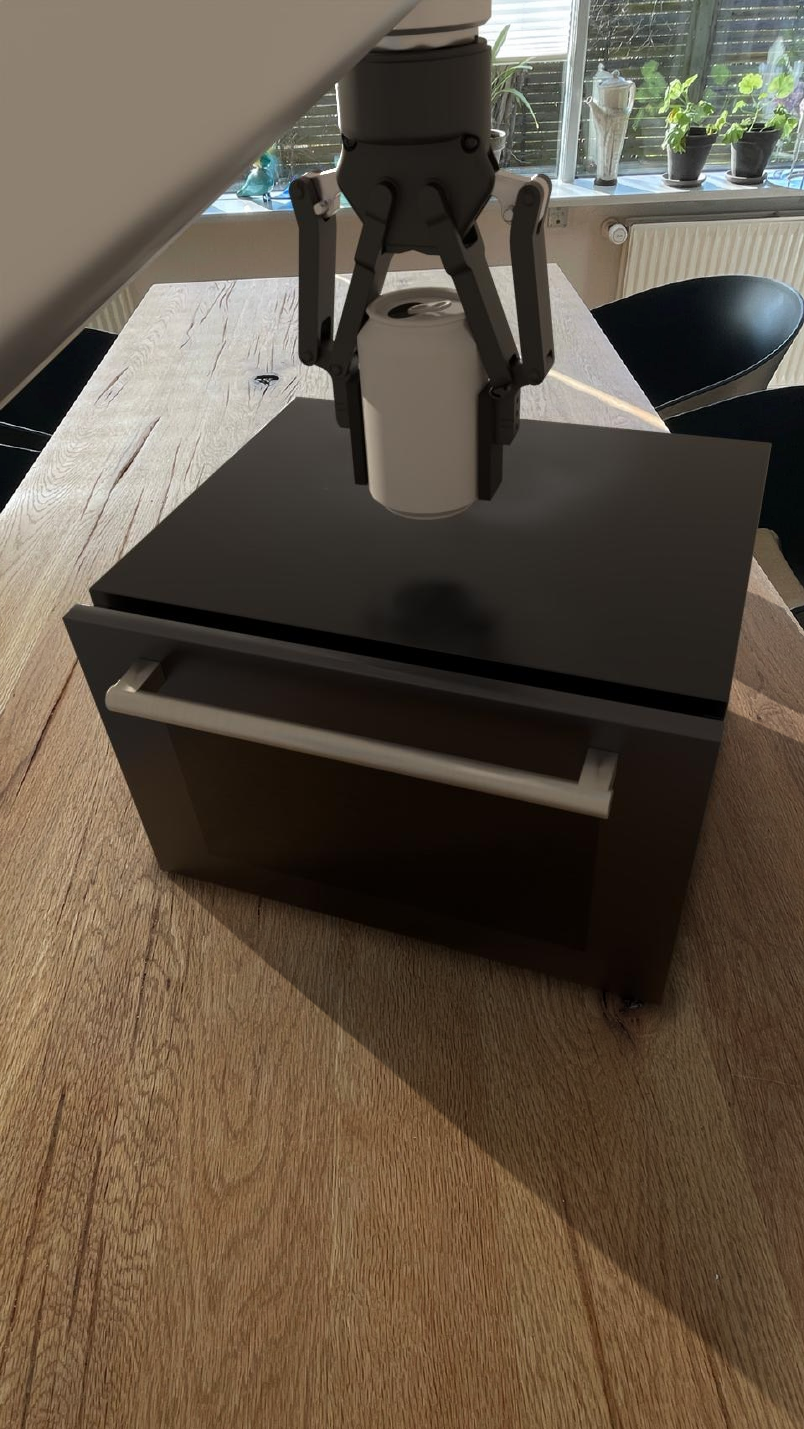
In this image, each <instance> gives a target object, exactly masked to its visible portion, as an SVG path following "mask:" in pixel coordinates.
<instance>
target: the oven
mask: <svg viewBox="0 0 804 1429" xmlns="http://www.w3.org/2000/svg"><path fill="white" fill-rule="evenodd" d="M771 449H772V442H765V441H755V440H754V441H753V440H744V439H736V438H735V439H734V438H726V437H725V438H723V437H714V436H704V435H696V434H695V435H693V434H685V433H684V434H683V433H673V432H663V431H654V430H643V429H633V428H623V427H612V426H601V425H600V426H599V425H591V424H582V423H581V424H580V423H571V422H562V421H549V420H540V419H531V418H530V419H529V418H521V417H520V428H519V430H518V432H517V434H516V436H515V438H514V439H513V441H512V443H511V444H510V445H503V468H502V482H501V484H500V486H499V487H498V489H497V491H496V492H495V494H494V496H493V497H492V499H491V501H484V500H478V499H477V500H476V501H474V502H473V503H472V505H471V506H470V507H469V508H467V509H466V510H464V511H463V512H461V513H459V514H456V515H453V516H451V517H446V518H440V519H433V520H418V519H411V518H405V517H402V516H399V515H397V514H394V513H392V512H391V511H390V510H388V509H387V508H386V507H385V506H384V505H382V504H381V503H379V502H378V501H377V500H375V499H374V498H373V496H372V494H371V493H370V491H369V482H368V484H367V485H366V486H365V485H357V484H355V480H354V469H353V458H352V447H351V436H350V429H349V428H340V427H339V425H338V423H337V420H336V414H335V403H334V399H327V398H316V397H307V396H306V397H304V396H295V397H293V399H291V400H290V402H288V403H287V404H286V405H285V406H284V407H283V408H282V409H280V411H279V412H278V413H276V414H275V415H274V416H273V417H272V418H271V419H270V420H269V421H268V422H267V423H266V424H264V425H263V427H261V428H260V429H259V430H258V431H257V432H256V433H255V434H254V435H253V436H252V437H251V438H250V439H248V440H247V441H246V442H245V443H244V444H243V445H242V446H240V448H238V450H236V451H235V452H234V453H233V454H232V455H231V456H230V457H229V458H228V459H227V460H226V461H225V462H223V463H222V464H221V466H219V467H218V468H217V469H216V470H215V471H214V472H212V474H211V475H209V476H208V477H207V478H206V479H205V480H204V481H203V482H202V483H201V484H200V485H199V486H197V488H195V489H194V490H193V491H192V492H191V493H190V494H189V495H188V496H187V497H186V498H185V499H183V501H181V502H180V503H179V504H178V506H176V507H175V508H174V509H173V510H172V511H171V512H169V513H168V514H167V515H166V516H165V518H163V519H162V520H161V521H160V522H158V524H156V526H154V527H153V528H152V529H151V530H150V531H149V532H148V533H147V534H146V535H145V536H144V537H143V538H142V539H141V540H140V541H138V542H137V543H136V544H135V545H134V546H133V547H132V548H131V549H129V551H128V552H126V553H125V554H124V555H123V556H122V557H121V558H120V559H119V560H118V561H116V563H114V564H113V565H112V566H111V567H110V568H109V569H108V570H107V571H106V572H105V573H104V574H103V575H101V577H100V578H98V580H96V581H95V582H94V583H93V584H92V585H91V586H90V587H89V588H88V593H89V597H90V599H91V602H92V604H93V605H92V606H94V607H99V608H105V609H110V610H116V611H121V612H127V613H132V614H138V615H143V616H149V617H154V618H160V619H165V620H171V621H176V622H182V623H187V624H193V625H198V626H204V627H209V628H215V629H220V630H226V631H231V632H237V633H242V634H248V635H253V636H259V637H264V638H270V639H275V640H281V641H286V642H292V643H297V644H303V645H308V646H314V647H319V648H324V649H330V650H335V651H341V652H346V653H352V654H357V655H363V656H368V657H374V658H379V659H385V660H390V661H396V662H401V663H407V664H412V665H418V666H423V667H429V668H434V669H440V670H445V671H451V672H456V673H462V674H467V675H473V676H478V677H484V678H489V679H495V680H500V681H506V682H511V683H517V684H522V685H528V686H533V687H539V688H544V689H550V690H555V691H561V692H566V693H572V694H577V695H583V696H588V697H594V698H599V699H605V700H610V701H615V702H621V703H626V704H632V705H637V706H643V707H648V708H654V709H659V710H665V711H670V712H676V713H681V714H687V715H692V716H698V717H703V718H709V719H714V720H720V721H724V722H725V721H726V716H727V712H728V708H729V704H730V697H731V692H732V686H733V679H734V673H735V667H736V662H737V655H738V649H739V643H740V638H741V631H742V626H743V619H744V612H745V607H746V601H747V596H748V589H749V583H750V577H751V570H752V566H753V558H754V553H755V546H756V540H757V536H758V534H757V533H758V530H759V529H758V528H759V523H760V516H761V510H762V503H763V497H764V492H765V486H766V481H767V474H768V467H769V461H770V457H771V456H770V455H771ZM725 723H726V722H725Z"/></svg>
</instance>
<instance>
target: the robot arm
mask: <svg viewBox="0 0 804 1429" xmlns="http://www.w3.org/2000/svg"><path fill="white" fill-rule="evenodd" d="M492 5H493V2H492V0H0V411H1V410H3V408H4V407H5V406H7V404H9V403H10V402H11V400H13V399H14V398H15V397H16V396H17V395H18V394H19V393H20V392H21V391H22V390H23V389H24V388H26V386H27V385H28V384H29V383H30V382H31V381H32V380H33V379H34V378H35V377H36V376H37V375H38V374H39V373H40V372H42V371H43V370H44V369H45V368H46V367H47V365H49V364H50V363H51V362H52V361H53V360H54V359H55V358H56V357H57V356H58V355H59V354H60V353H61V352H62V351H63V350H64V349H65V348H66V347H67V346H69V344H70V343H71V342H72V341H73V340H74V339H76V338H77V336H79V334H80V333H81V332H83V331H84V329H86V327H88V326H89V325H90V324H91V323H92V322H93V321H95V319H96V318H97V317H98V316H99V315H100V314H101V313H102V312H103V311H104V310H106V308H107V307H108V306H109V305H110V304H112V303H113V302H114V300H116V298H118V297H119V296H120V295H121V294H122V293H123V291H125V290H126V289H127V288H128V287H129V286H130V285H131V284H132V283H133V282H134V281H135V280H136V279H137V278H138V277H139V276H141V275H142V273H143V272H144V271H145V270H147V268H148V267H149V266H150V265H152V264H153V262H155V261H156V260H157V258H159V257H160V256H161V255H162V254H163V253H164V252H165V251H166V250H167V249H169V247H170V246H171V245H172V244H173V243H174V242H175V241H176V240H178V238H179V237H180V236H181V235H182V234H183V233H185V232H186V231H187V229H189V228H190V227H191V226H192V225H193V224H194V223H195V222H196V221H197V220H198V219H199V218H200V217H201V216H202V215H203V214H204V213H205V212H206V211H207V210H208V209H209V208H210V207H211V206H212V205H213V204H215V202H216V201H217V200H219V198H221V196H223V194H225V193H226V192H227V191H228V190H229V189H230V188H231V187H232V186H233V185H234V184H235V183H236V182H237V181H238V180H239V179H240V178H241V177H242V176H243V175H244V174H245V173H247V171H248V170H250V168H251V167H252V166H254V164H255V163H256V162H258V161H259V160H260V159H261V158H262V157H263V156H264V155H265V154H266V153H267V152H268V151H269V150H270V149H271V148H272V147H273V146H274V145H275V144H276V143H277V142H278V141H279V140H280V139H281V138H282V137H283V136H284V135H285V134H286V133H288V131H289V130H290V129H291V128H293V126H295V125H296V124H297V123H298V122H299V121H300V120H301V119H302V118H303V117H304V116H305V115H306V114H307V113H308V112H309V111H310V110H311V109H312V108H313V107H314V106H315V105H317V103H318V102H319V101H321V99H322V98H323V97H324V96H325V95H326V94H327V93H329V92H330V91H331V89H333V88H334V87H335V92H336V103H337V104H336V105H337V106H336V107H337V117H338V129H339V133H340V137H341V143H342V144H341V153H340V158H339V159H338V162H337V165H336V168H333V169H329V170H325V171H323V170H321V169H319V168H313V169H312V170H310V171H308V172H306V173H304V174H302V175H300V176H298V177H297V178H295V179H293V180H292V181H291V182H290V183H289V185H288V195H289V199H290V203H291V206H292V210H293V212H294V216H295V221H296V224H297V227H298V296H297V297H298V298H297V299H298V301H297V302H298V305H297V306H298V308H297V310H298V313H297V314H298V316H297V317H298V318H297V319H298V321H297V322H298V323H297V325H298V326H297V330H298V331H297V333H298V334H297V338H298V339H297V341H298V342H297V355H298V360H299V361H300V363H302V364H303V365H304V366H306V367H312V366H316V367H318V368H320V369H323V370H324V371H325V372H327V373H328V374H329V376H330V380H331V384H332V392H333V400H334V403H335V414H336V420H337V423H338V425H339V427H340V428H349V429H350V436H351V447H352V458H353V469H354V480H355V484H357V485H365V486H366V485H367V484H368V469H367V457H366V444H365V432H364V420H363V407H362V395H361V382H360V370H359V357H358V345H357V335H358V333H359V331H360V330H361V328H362V326H363V325H364V323H365V321H366V320H367V319H368V317H369V315H368V314H367V312H366V308H367V306H368V305H369V304H370V303H371V302H372V301H373V300H375V299H376V298H377V297H378V296H380V295H382V291H383V287H384V284H385V282H386V278H387V275H388V272H389V268H390V265H391V261H392V259H393V257H394V255H396V254H398V255H399V254H404V253H407V252H411V251H415V252H418V253H421V254H423V255H426V256H439V258H440V261H441V264H442V266H443V268H444V269H443V270H444V271H445V273H446V274H447V275H448V276H450V278H451V280H452V282H453V285H454V289H456V291H457V293H458V296H459V299H460V302H461V304H462V307H463V310H464V312H465V315H466V318H467V320H468V323H469V326H470V329H471V331H472V334H473V337H474V339H475V342H476V345H477V348H478V350H479V353H480V356H481V358H482V361H483V364H484V367H485V369H486V372H487V375H488V377H489V382H488V383H487V385H486V386H485V387H484V389H483V390H482V391H481V392H480V393H479V395H478V500H484V501H491V499H492V497H493V496H494V494H495V492H496V491H497V489H498V487H499V486H500V484H501V482H502V468H503V445H510V444H511V443H512V441H513V439H514V438H515V436H516V434H517V432H518V430H519V428H520V418H521V394H522V393H521V391H522V390H521V389H522V388H523V387H526V386H534V387H536V386H539V385H541V384H542V383H543V382H544V381H545V379H546V378H547V376H548V374H549V372H550V371H551V370H552V368H553V366H554V364H555V362H556V361H555V360H556V355H555V354H556V352H555V343H554V342H555V341H554V330H553V319H552V307H551V305H552V304H551V295H550V284H549V272H548V259H547V248H546V236H545V221H546V217H547V213H548V208H549V204H550V200H551V196H552V191H553V183H552V179H551V178H550V177H549V175H547V174H545V173H541V172H539V173H536V174H534V175H533V176H532V177H529V176H525V175H521V174H518V173H513V172H509V171H506V170H502V169H501V166H500V163H499V161H498V158H497V157H496V155H495V152H494V148H493V145H492V75H493V74H492V68H493V67H492V66H493V65H492V62H493V60H492V58H493V57H492V56H493V49H492V48H493V47H492V46H491V45H489V44H488V39H487V38H486V37H484V36H479V27H481V26H484V25H486V24H487V23H488V21H490V19H491V18H492V7H493V6H492ZM342 195H343V197H344V198H345V199H346V201H347V202H348V204H349V206H350V207H351V209H352V210H353V212H354V213H355V214H356V216H357V217H358V219H359V221H360V222H361V224H362V227H361V230H360V235H359V238H358V242H357V246H356V249H355V253H354V256H353V257H354V258H353V261H354V267H353V270H352V273H351V274H352V275H351V278H350V282H349V285H348V288H347V293H346V296H345V300H344V304H343V308H342V311H341V314H340V319H339V322H338V326H337V331H336V333H335V332H334V331H335V330H334V328H335V297H336V295H335V293H336V268H337V267H336V263H337V262H336V261H337V235H338V234H337V233H338V231H337V228H338V227H337V226H338V224H337V214H336V213H338V212H339V211H340V209H341V196H342ZM492 197H494V198H495V199H496V200H497V201H498V203H499V205H500V215H501V218H502V220H503V221H504V222H505V223H506V224H507V225H508V226H509V225H510V229H509V250H510V251H509V253H510V262H511V264H510V265H511V272H512V281H513V282H512V283H513V289H514V291H513V292H514V300H515V310H516V311H515V312H516V319H517V330H518V340H519V348H520V349H519V350H520V353H519V350H518V348H517V344H516V342H515V338H514V336H513V333H512V330H511V328H510V324H509V320H508V318H507V315H506V312H505V310H504V307H503V304H502V301H501V298H500V295H499V292H498V290H497V287H496V284H495V280H494V278H493V275H492V272H491V269H490V267H489V264H488V261H487V257H486V246H485V242H484V238H483V236H482V234H481V230H480V228H479V225H478V222H477V220H478V218H479V217H480V216H481V214H482V212H483V211H484V209H485V208H486V206H487V204H488V203H489V201H490V200H491V198H492ZM334 333H335V337H334Z"/></svg>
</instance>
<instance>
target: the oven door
mask: <svg viewBox="0 0 804 1429" xmlns="http://www.w3.org/2000/svg"><path fill="white" fill-rule="evenodd" d="M61 619H62V622H63V624H64V627H65V630H66V633H67V635H68V637H69V640H70V642H71V645H72V647H73V650H74V652H75V655H76V658H77V660H78V663H79V665H80V669H81V671H82V673H83V675H84V678H85V680H86V683H87V686H88V688H89V691H90V693H91V695H92V698H93V701H94V703H95V706H96V708H97V711H98V714H99V716H100V719H101V722H102V724H103V726H104V729H105V732H106V735H107V737H108V739H109V742H110V744H111V746H112V750H113V752H114V755H115V758H116V760H117V762H118V765H119V768H120V770H121V772H122V775H123V778H124V780H125V783H126V785H127V788H128V790H129V793H130V796H131V799H132V802H133V803H134V806H135V809H136V811H137V813H138V816H139V818H140V821H141V824H142V827H143V829H144V832H145V834H146V836H147V839H148V842H149V844H150V847H151V850H152V852H153V855H154V857H155V859H156V862H157V865H158V867H159V870H160V871H164V872H167V873H171V874H175V875H178V876H182V877H186V878H190V879H194V880H196V881H200V882H204V883H208V884H212V885H215V886H219V887H223V888H226V889H230V890H234V891H237V892H241V893H245V894H249V895H252V896H255V897H259V898H263V899H267V900H271V901H274V902H277V903H281V904H285V905H290V906H293V907H296V908H300V909H303V910H306V911H311V912H314V913H317V914H318V913H319V914H322V915H326V916H329V917H332V918H337V919H340V920H344V921H347V922H351V923H354V924H360V925H361V926H366V927H370V928H373V929H377V930H380V931H383V932H388V933H392V934H395V935H398V936H403V937H407V938H411V939H414V940H417V941H421V942H425V943H429V944H433V945H436V946H439V947H443V948H447V949H451V950H454V951H458V952H461V953H465V954H469V955H471V956H472V955H473V956H476V957H480V958H484V959H488V960H491V961H494V962H498V963H502V964H506V965H509V966H513V967H517V968H520V969H523V970H528V971H530V972H531V971H532V972H535V973H539V974H543V975H546V976H550V977H554V978H556V979H561V980H565V981H569V982H572V983H576V984H579V985H583V986H587V987H590V988H594V989H598V990H601V991H604V992H608V993H613V994H615V995H620V996H622V997H623V996H624V997H627V998H631V999H634V1000H638V1001H642V1002H645V1003H649V1004H653V1005H657V1006H662V1005H663V1002H664V997H665V993H666V989H667V984H668V981H669V980H668V979H669V976H670V972H671V966H672V963H673V958H674V955H675V954H674V953H675V949H676V945H677V940H678V937H679V931H680V928H681V923H682V919H683V914H684V910H685V907H686V901H687V896H688V894H689V888H690V884H691V879H692V875H693V871H694V866H695V862H696V858H697V853H698V849H699V844H700V840H701V835H702V832H703V828H704V822H705V819H706V813H707V809H708V805H709V801H710V797H711V792H712V788H713V784H714V779H715V775H716V771H717V767H718V763H719V757H720V754H721V748H722V744H723V740H724V734H725V728H726V722H724V721H720V720H714V719H709V718H703V717H698V716H692V715H687V714H681V713H676V712H670V711H665V710H659V709H654V708H648V707H643V706H637V705H632V704H626V703H621V702H615V701H610V700H605V699H599V698H594V697H588V696H583V695H577V694H572V693H566V692H561V691H555V690H550V689H544V688H539V687H533V686H528V685H522V684H517V683H511V682H506V681H500V680H495V679H489V678H484V677H478V676H473V675H467V674H462V673H456V672H451V671H445V670H440V669H434V668H429V667H423V666H418V665H412V664H407V663H401V662H396V661H390V660H385V659H379V658H374V657H368V656H363V655H357V654H352V653H346V652H341V651H335V650H330V649H324V648H319V647H314V646H308V645H303V644H297V643H292V642H286V641H281V640H275V639H270V638H264V637H259V636H253V635H248V634H242V633H237V632H231V631H226V630H220V629H215V628H209V627H204V626H198V625H193V624H187V623H182V622H176V621H171V620H165V619H160V618H154V617H149V616H143V615H138V614H132V613H127V612H121V611H116V610H110V609H105V608H99V607H94V606H93V605H89V604H82V603H74V604H73V605H72V606H71V608H69V609H68V610H67V611H66V612H65V614H63V615H62V616H61Z"/></svg>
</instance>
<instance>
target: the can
mask: <svg viewBox="0 0 804 1429" xmlns="http://www.w3.org/2000/svg"><path fill="white" fill-rule="evenodd" d="M366 312H367V314H368V315H369V317H368V319H367V320H366V321H365V323H364V325H363V326H362V328H361V330H360V331H359V333H358V335H357V345H358V357H359V370H360V382H361V395H362V407H363V420H364V432H365V444H366V457H367V469H368V482H369V491H370V493H371V494H372V496H373V498H374V499H375V500H377V501H378V502H379V503H381V504H382V505H384V506H385V507H386V508H387V509H388V510H390V511H391V512H392V513H394V514H397V515H399V516H402V517H405V518H411V519H418V520H433V519H440V518H446V517H451V516H453V515H456V514H459V513H461V512H463V511H464V510H466V509H467V508H469V507H470V506H471V505H472V503H473V502H474V501H476V500H477V499H478V395H479V393H480V392H481V391H482V390H483V389H484V387H485V386H486V385H487V383H488V382H489V377H488V375H487V372H486V369H485V367H484V364H483V361H482V358H481V356H480V353H479V350H478V348H477V345H476V342H475V339H474V337H473V334H472V331H471V329H470V326H469V323H468V320H467V318H466V315H465V312H464V310H463V307H462V304H461V302H460V299H459V296H458V293H457V291H456V288H453V287H447V286H445V287H444V286H414V287H407V288H406V287H405V288H399V289H395V290H392V291H387V292H385V293H381V295H380V296H378V297H377V298H376V299H375V300H373V301H372V302H371V303H370V304H369V305H368V306H367V308H366Z"/></svg>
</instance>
